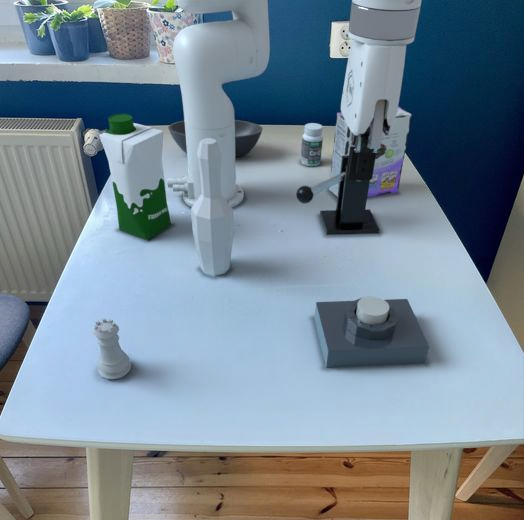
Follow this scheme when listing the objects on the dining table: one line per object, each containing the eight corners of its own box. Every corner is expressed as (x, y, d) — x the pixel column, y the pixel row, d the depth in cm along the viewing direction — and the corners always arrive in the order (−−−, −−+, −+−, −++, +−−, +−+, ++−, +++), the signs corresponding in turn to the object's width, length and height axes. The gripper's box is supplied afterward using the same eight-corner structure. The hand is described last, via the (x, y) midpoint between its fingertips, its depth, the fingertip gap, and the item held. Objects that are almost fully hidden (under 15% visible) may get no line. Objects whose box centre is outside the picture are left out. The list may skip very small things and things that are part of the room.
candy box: (385, 182, 119) (398, 104, 108) (398, 193, 115) (413, 114, 104) (327, 190, 116) (335, 110, 105) (339, 202, 112) (348, 121, 101)
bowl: (261, 165, 125) (261, 138, 121) (166, 163, 125) (164, 136, 121) (263, 145, 134) (263, 120, 130) (175, 143, 134) (172, 117, 130)
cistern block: (326, 368, 75) (329, 340, 71) (314, 318, 83) (316, 292, 79) (424, 363, 76) (432, 336, 72) (403, 315, 84) (409, 288, 80)
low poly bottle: (217, 255, 96) (210, 129, 81) (241, 269, 93) (239, 141, 78) (189, 269, 93) (177, 140, 78) (213, 284, 89) (205, 153, 74)
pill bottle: (307, 168, 124) (310, 131, 119) (296, 160, 127) (298, 124, 122) (324, 164, 126) (328, 127, 120) (313, 157, 129) (316, 121, 124)
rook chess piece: (100, 359, 75) (89, 314, 70) (133, 358, 76) (124, 313, 70) (96, 382, 72) (83, 336, 67) (130, 380, 72) (120, 335, 67)
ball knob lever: (301, 209, 100) (294, 195, 98) (299, 201, 102) (292, 187, 100) (367, 178, 97) (362, 163, 95) (363, 171, 99) (358, 155, 97)
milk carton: (143, 212, 107) (127, 107, 94) (179, 224, 104) (168, 117, 90) (112, 231, 102) (91, 122, 88) (148, 244, 98) (132, 133, 85)
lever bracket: (326, 236, 101) (333, 170, 93) (319, 216, 107) (325, 152, 99) (378, 235, 102) (390, 169, 94) (368, 214, 108) (379, 151, 99)
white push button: (359, 325, 74) (361, 315, 73) (353, 306, 78) (354, 296, 76) (390, 324, 75) (393, 314, 73) (383, 305, 78) (385, 295, 77)
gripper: (338, 8, 66) (323, 155, 78) (364, 39, 55) (341, 204, 67) (398, 8, 66) (373, 154, 79) (435, 40, 55) (400, 204, 68)
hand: (358, 177), depth 73 cm, fingers closed
